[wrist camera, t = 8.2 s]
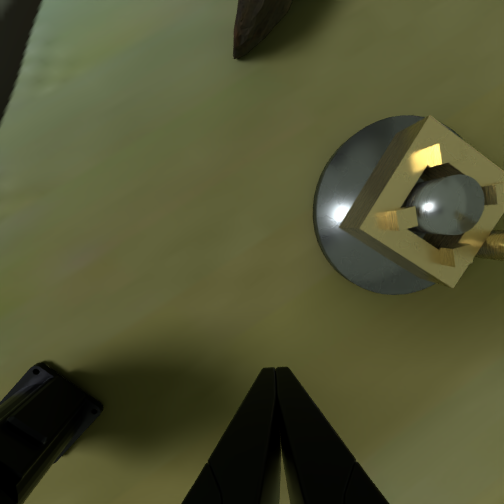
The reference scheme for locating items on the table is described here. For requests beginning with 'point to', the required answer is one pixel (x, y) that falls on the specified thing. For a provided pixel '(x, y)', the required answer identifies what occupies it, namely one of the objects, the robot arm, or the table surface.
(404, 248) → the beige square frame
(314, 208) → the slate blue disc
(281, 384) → the robot arm
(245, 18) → the dark brown log
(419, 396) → the table surface
